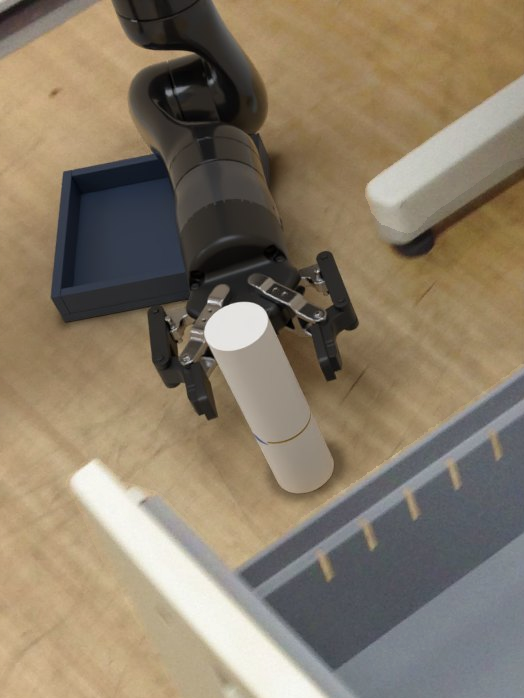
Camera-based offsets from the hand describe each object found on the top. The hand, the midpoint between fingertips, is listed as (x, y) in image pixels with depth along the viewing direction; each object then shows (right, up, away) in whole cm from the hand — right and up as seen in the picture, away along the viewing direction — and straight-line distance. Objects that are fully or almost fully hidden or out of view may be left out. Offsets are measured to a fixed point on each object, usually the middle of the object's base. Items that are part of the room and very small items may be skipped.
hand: (268, 392), depth 122 cm
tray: (-13, +16, +23) cm, 30 cm away
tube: (+1, -5, +7) cm, 9 cm away
